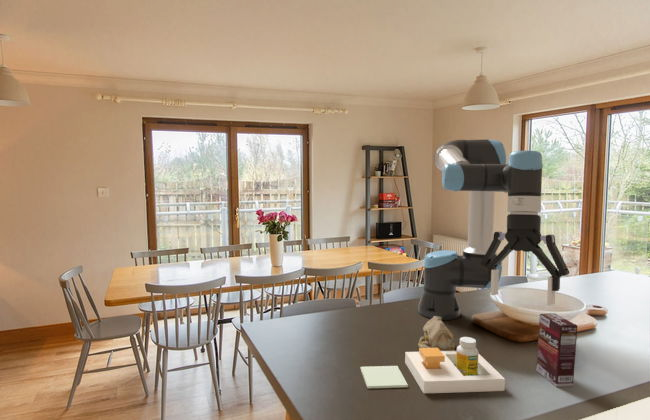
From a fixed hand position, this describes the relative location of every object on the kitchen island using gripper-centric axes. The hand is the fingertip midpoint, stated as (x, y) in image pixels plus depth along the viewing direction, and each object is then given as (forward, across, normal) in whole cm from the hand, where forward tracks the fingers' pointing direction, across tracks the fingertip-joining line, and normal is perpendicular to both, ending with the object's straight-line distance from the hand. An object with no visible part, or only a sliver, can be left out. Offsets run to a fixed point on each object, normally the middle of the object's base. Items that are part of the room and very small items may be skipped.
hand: (521, 299), depth 101 cm
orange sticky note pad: (+19, -17, -13) cm, 29 cm away
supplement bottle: (+21, -11, -5) cm, 25 cm away
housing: (+21, -14, -8) cm, 27 cm away
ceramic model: (+20, -25, +4) cm, 32 cm away
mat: (+22, -25, -22) cm, 40 cm away
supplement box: (+21, +4, +10) cm, 24 cm away
